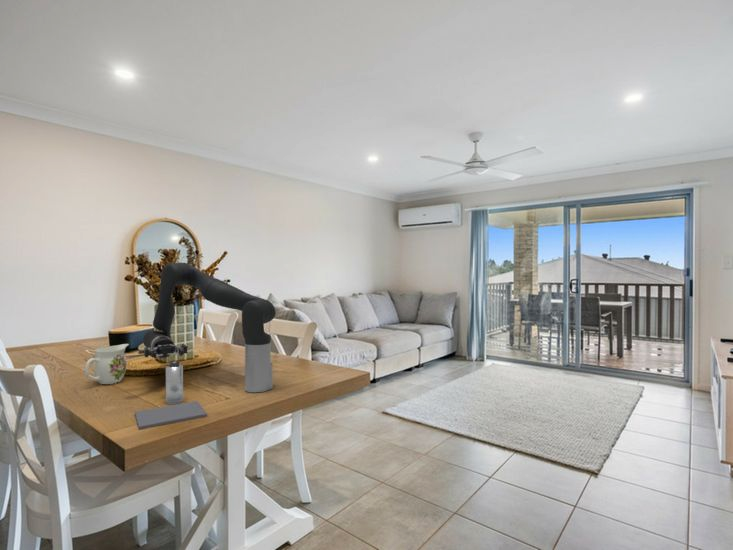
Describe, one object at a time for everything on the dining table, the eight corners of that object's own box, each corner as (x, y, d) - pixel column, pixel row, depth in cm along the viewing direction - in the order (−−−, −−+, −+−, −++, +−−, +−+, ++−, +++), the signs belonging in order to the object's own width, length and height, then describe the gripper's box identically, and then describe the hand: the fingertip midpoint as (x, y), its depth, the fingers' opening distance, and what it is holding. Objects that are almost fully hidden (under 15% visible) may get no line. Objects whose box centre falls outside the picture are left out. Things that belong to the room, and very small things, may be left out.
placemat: (197, 403, 133) (197, 400, 133) (206, 416, 121) (206, 413, 121) (134, 414, 123) (134, 411, 123) (138, 429, 111) (138, 426, 111)
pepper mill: (181, 398, 138) (181, 359, 138) (184, 402, 134) (184, 361, 133) (164, 400, 135) (164, 360, 135) (167, 405, 131) (166, 364, 130)
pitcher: (74, 388, 149) (74, 351, 148) (118, 375, 166) (118, 343, 166) (96, 391, 145) (96, 353, 145) (138, 378, 162) (138, 344, 162)
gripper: (141, 338, 153) (146, 345, 139) (182, 335, 161) (190, 342, 147) (141, 357, 153) (146, 367, 139) (182, 353, 161) (189, 362, 147)
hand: (168, 354), depth 143 cm, fingers open, 8 cm apart
